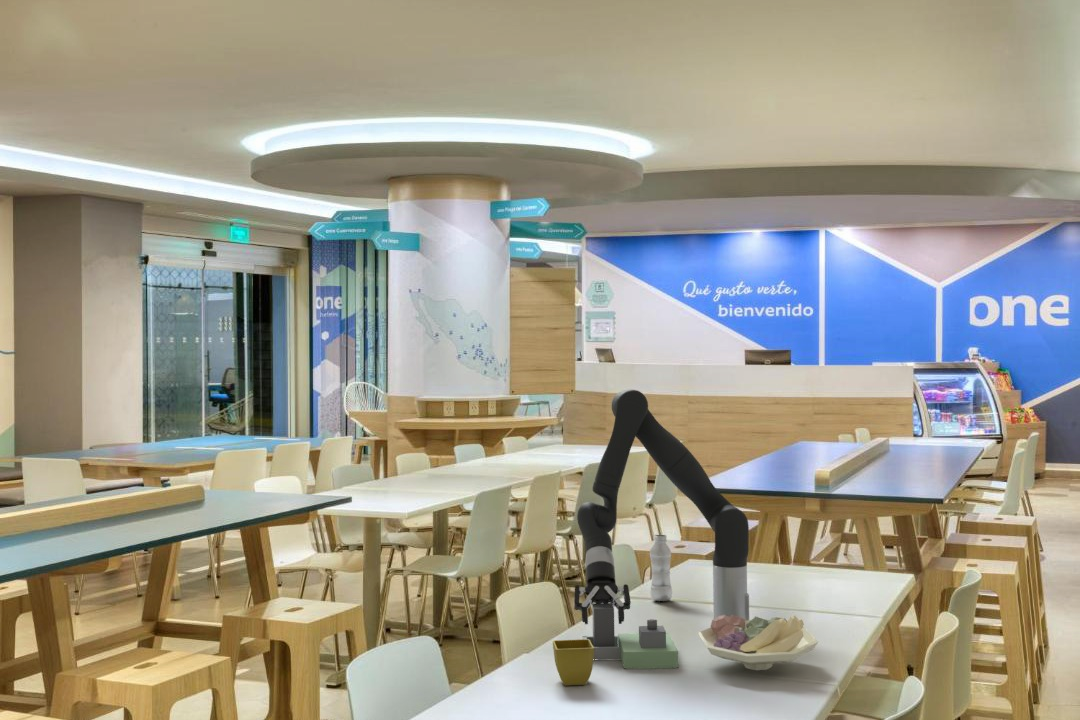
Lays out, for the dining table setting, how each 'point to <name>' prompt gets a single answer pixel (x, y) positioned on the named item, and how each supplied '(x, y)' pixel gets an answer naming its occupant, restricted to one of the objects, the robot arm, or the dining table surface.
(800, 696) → the dining table surface
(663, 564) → the plastic bottle
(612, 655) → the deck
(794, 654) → the dish with food
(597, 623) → the tall grey cuboid
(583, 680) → the flower pot
